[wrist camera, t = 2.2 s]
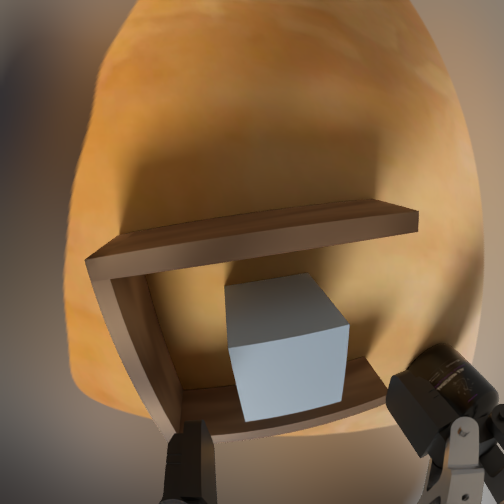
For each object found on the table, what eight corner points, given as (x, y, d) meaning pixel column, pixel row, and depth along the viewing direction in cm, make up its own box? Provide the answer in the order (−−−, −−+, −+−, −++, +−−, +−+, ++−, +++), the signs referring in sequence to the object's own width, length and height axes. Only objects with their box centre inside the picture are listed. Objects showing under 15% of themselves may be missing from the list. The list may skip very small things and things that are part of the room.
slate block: (224, 285, 16) (228, 348, 10) (307, 272, 16) (349, 324, 10) (236, 352, 17) (245, 421, 12) (309, 339, 18) (341, 401, 12)
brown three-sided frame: (119, 234, 14) (84, 259, 10) (372, 198, 15) (418, 211, 11) (174, 399, 18) (169, 445, 14) (362, 365, 19) (387, 402, 15)
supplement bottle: (429, 334, 19) (513, 416, 8) (458, 346, 21) (525, 411, 10) (385, 392, 21) (445, 483, 9) (420, 396, 22) (474, 466, 11)
